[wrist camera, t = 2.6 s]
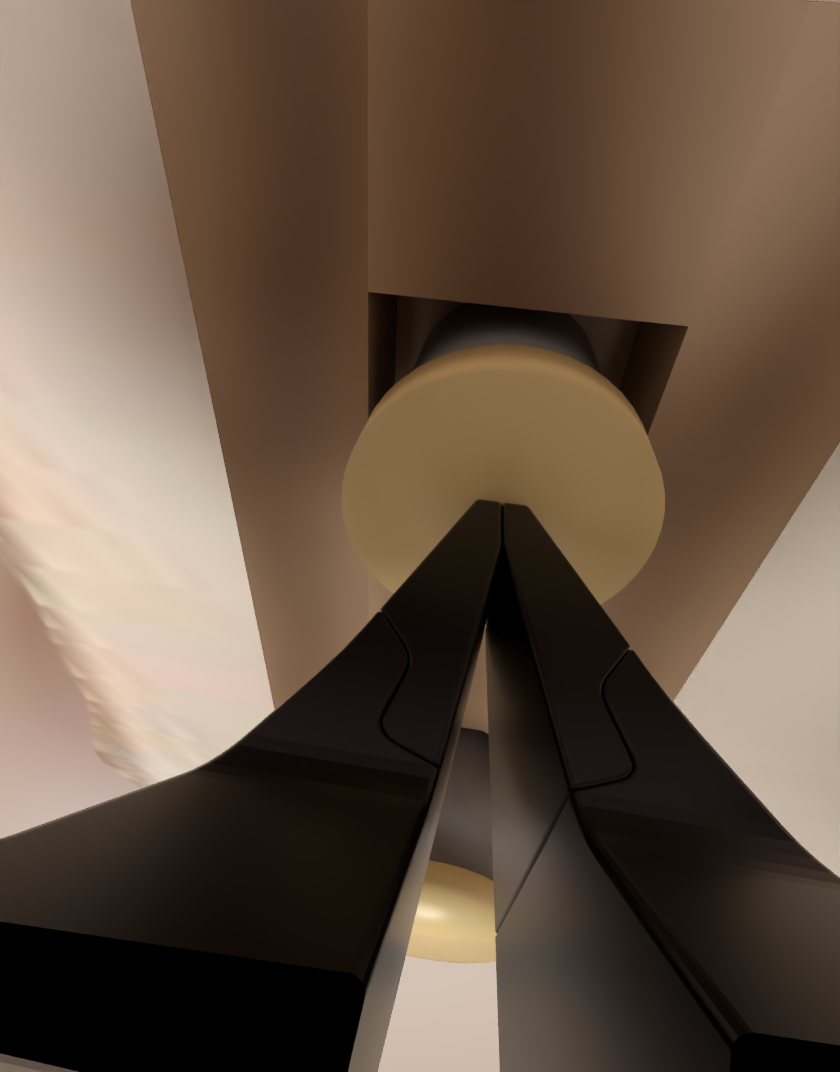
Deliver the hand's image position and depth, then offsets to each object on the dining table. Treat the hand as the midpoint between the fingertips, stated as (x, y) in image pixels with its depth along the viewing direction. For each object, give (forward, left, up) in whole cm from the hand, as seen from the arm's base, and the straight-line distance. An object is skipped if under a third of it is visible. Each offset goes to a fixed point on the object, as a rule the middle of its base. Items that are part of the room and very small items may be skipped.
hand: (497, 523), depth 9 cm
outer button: (0, 0, -6) cm, 6 cm away
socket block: (-6, +3, -6) cm, 9 cm away
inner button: (-11, +6, -3) cm, 13 cm away
